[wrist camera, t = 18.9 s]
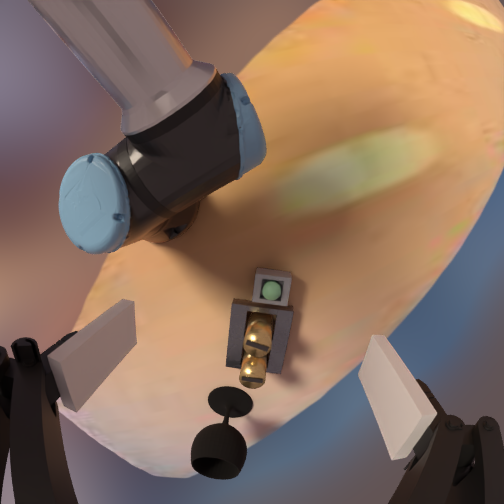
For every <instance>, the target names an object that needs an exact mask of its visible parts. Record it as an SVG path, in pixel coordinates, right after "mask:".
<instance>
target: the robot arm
mask: <svg viewBox="0 0 504 504" xmlns="http://www.w3.org/2000/svg"><path fill="white" fill-rule="evenodd" d="M28 1H29V2H30V3H31V5H32V6H33V7H34V8H35V9H36V11H37V12H38V13H39V14H40V15H41V16H42V18H43V19H44V20H45V21H46V22H47V23H48V25H49V26H50V27H51V28H52V29H53V30H54V31H55V33H56V34H57V35H58V36H59V37H60V39H61V40H62V41H63V42H64V43H65V44H66V45H67V47H68V48H69V49H70V50H71V51H72V52H73V53H74V54H75V56H76V57H77V58H78V59H79V60H80V62H81V63H82V64H83V65H84V66H85V67H86V69H87V70H88V71H89V72H90V73H91V74H92V75H93V77H94V78H95V79H96V80H97V81H98V82H99V83H100V85H101V86H102V87H103V88H104V89H105V90H106V92H108V94H109V95H110V96H111V97H112V98H113V99H114V101H115V102H116V103H117V104H118V105H119V106H120V108H121V109H122V119H121V131H122V133H123V134H124V135H125V136H126V138H124V139H123V140H122V141H121V142H119V143H118V144H117V145H116V146H114V147H113V148H112V149H111V150H109V151H108V152H107V153H106V154H104V155H103V154H100V153H92V154H89V155H85V156H82V157H80V158H78V159H77V160H76V161H75V162H73V163H72V165H71V166H70V167H69V168H68V170H67V171H66V173H65V175H64V177H63V180H62V183H61V187H60V199H59V213H60V218H61V222H62V225H63V227H64V230H65V232H66V234H67V235H68V237H69V238H70V240H71V241H72V242H73V243H74V244H75V245H76V246H77V247H78V248H79V249H81V250H84V251H86V252H87V253H90V254H102V253H111V252H115V251H117V250H118V249H119V248H121V247H124V246H127V245H129V244H132V243H135V242H137V241H140V240H146V241H149V242H157V243H159V242H166V241H170V240H172V239H174V238H177V237H179V236H180V235H182V234H183V233H184V232H186V231H187V230H188V229H189V227H190V226H191V225H192V223H193V222H194V220H195V218H196V215H197V212H198V208H199V200H201V199H202V198H204V197H206V196H207V195H209V194H211V193H212V192H214V191H216V190H218V189H219V188H221V187H223V186H225V185H226V184H228V183H230V182H232V181H234V180H238V179H240V178H241V177H242V176H243V174H245V173H246V172H248V171H250V170H251V169H253V168H255V167H256V166H258V165H260V164H261V163H262V161H263V159H264V158H265V156H266V141H265V137H264V133H263V129H262V126H261V123H260V121H259V118H258V115H257V113H256V111H255V108H254V106H253V104H252V103H251V102H250V99H249V97H248V94H247V92H246V90H245V88H244V86H243V85H242V83H241V82H240V80H239V79H238V78H237V77H236V76H235V75H234V74H233V73H227V74H226V73H223V74H221V75H220V74H219V73H218V71H217V69H216V68H215V66H214V65H212V64H210V63H205V62H200V61H195V60H193V59H192V58H191V57H190V55H189V53H188V52H187V51H186V49H185V47H184V46H183V44H182V43H181V41H180V40H179V39H178V37H177V36H176V34H175V33H174V31H173V30H172V28H171V27H170V26H169V24H168V23H167V21H166V20H165V18H164V17H163V15H162V14H161V13H160V11H159V10H158V8H157V7H156V6H155V4H154V3H153V2H152V0H28ZM136 344H137V340H136V326H135V307H134V301H130V300H125V299H122V300H121V301H119V302H118V303H116V304H115V305H114V306H112V307H111V308H110V309H108V310H107V311H106V312H104V313H103V314H101V315H100V316H99V317H97V318H96V319H95V320H93V321H92V322H91V323H89V324H88V325H87V326H85V327H84V328H83V329H81V330H80V331H79V332H77V331H75V332H72V333H69V334H67V335H66V336H64V337H63V338H62V339H61V340H59V341H58V342H56V344H54V345H52V346H51V347H50V348H48V349H47V350H46V351H44V352H43V353H42V354H40V352H39V349H38V345H37V342H36V341H35V340H34V339H32V338H27V337H25V338H20V339H17V340H15V341H14V342H13V343H12V345H11V348H12V351H13V354H14V357H15V359H13V358H9V357H8V354H7V351H6V349H5V348H4V347H2V346H0V504H1V496H2V487H3V480H4V473H5V468H6V462H7V457H8V453H9V448H10V463H11V475H12V484H13V491H14V497H15V504H78V501H77V498H76V495H75V492H74V488H73V485H72V481H71V477H70V474H69V469H68V465H67V461H66V456H65V451H64V446H63V440H62V434H61V427H60V421H59V411H58V405H57V402H56V400H57V399H58V398H59V397H61V400H62V402H63V405H64V406H65V407H67V408H69V409H71V410H73V411H75V412H78V411H79V409H80V408H81V407H82V406H83V405H84V403H85V402H86V401H87V400H88V399H89V398H90V396H91V395H92V394H93V393H94V392H95V391H96V389H97V388H98V387H99V386H100V385H101V384H102V382H103V381H104V380H105V379H106V378H107V377H108V376H109V374H110V373H111V372H112V371H113V370H114V369H115V368H116V366H117V365H118V364H119V363H120V362H121V361H122V360H123V358H124V357H125V356H126V355H127V354H128V353H129V352H130V350H131V349H132V348H133V347H134V346H135V345H136ZM358 376H359V378H360V381H361V383H362V386H363V388H364V390H365V393H366V395H367V398H368V400H369V403H370V405H371V408H372V410H373V412H374V415H375V417H376V420H377V423H378V425H379V428H380V430H381V433H382V436H383V438H384V441H385V444H386V446H387V449H388V452H389V455H390V457H391V460H395V459H401V458H406V457H407V456H408V455H409V453H410V452H411V451H412V449H413V450H414V452H415V454H416V455H415V456H414V457H413V459H412V460H411V461H410V462H409V463H408V465H407V466H406V467H405V468H404V470H406V469H407V470H406V472H405V474H404V476H403V478H402V480H401V482H400V484H399V486H398V487H397V489H396V491H395V493H394V494H393V496H392V498H391V499H390V501H389V503H388V504H504V446H503V441H502V437H501V432H500V428H499V425H498V423H497V422H496V421H495V419H493V418H491V417H488V416H483V417H481V418H480V419H479V420H478V422H477V423H476V425H465V424H464V422H463V421H462V420H461V419H460V418H458V417H456V416H454V415H447V414H446V413H445V411H444V410H443V408H442V407H441V405H440V404H439V402H438V401H437V400H436V398H434V395H433V394H432V393H431V391H430V389H429V388H428V386H427V385H426V384H425V383H423V382H422V381H421V380H419V379H416V380H415V378H414V377H413V375H412V374H411V373H410V371H409V370H408V368H407V367H406V365H405V364H404V362H402V360H401V358H400V357H399V356H398V354H397V353H396V351H395V350H394V348H393V347H392V346H391V344H390V343H389V341H388V340H387V339H386V337H385V336H384V335H372V336H371V340H370V343H369V346H368V349H367V351H366V354H365V357H364V360H363V363H362V366H361V368H360V371H359V374H358ZM474 461H475V464H474Z"/></svg>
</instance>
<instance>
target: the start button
mask: <svg viewBox="0 0 504 504" xmlns="http://www.w3.org/2000/svg"><path fill="white" fill-rule="evenodd" d="M262 293H263V296H264V297H265V298H266V299H268V300H276V299H277V298H278V297H279V296H280V294H281V287H280V284H279V283H278V282H277V281H276V280H268V281H266V282H265V283H264V285H263V291H262Z"/></svg>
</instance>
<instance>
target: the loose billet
mask: <svg viewBox="0 0 504 504" xmlns="http://www.w3.org/2000/svg"><path fill="white" fill-rule="evenodd" d="M266 363H267V354H266V355H265V356H262V357H254V356H251V355H249V354H248V353H247V352H246V351H245V352H244V357H243V362H242V367H241V372H240V376H239V380H240V382H241V384H242V385H243V386H245V387H247V388H251V389H255V388H259V387H261V386H262V385H263V384H264V383H265V378H266Z"/></svg>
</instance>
